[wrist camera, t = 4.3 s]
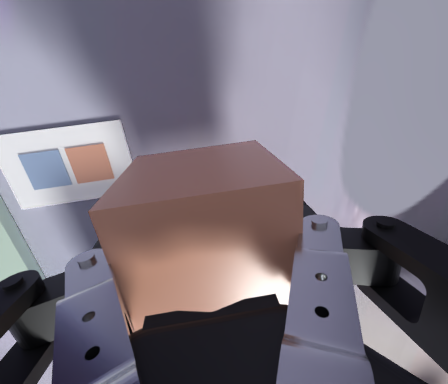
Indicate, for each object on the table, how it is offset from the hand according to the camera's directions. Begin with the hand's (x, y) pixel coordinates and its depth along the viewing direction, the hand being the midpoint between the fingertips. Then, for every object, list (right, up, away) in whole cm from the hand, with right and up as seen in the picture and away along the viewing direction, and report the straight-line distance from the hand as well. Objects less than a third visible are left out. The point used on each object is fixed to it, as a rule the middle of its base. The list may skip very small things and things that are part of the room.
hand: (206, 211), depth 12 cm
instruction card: (-9, +3, +4) cm, 10 cm away
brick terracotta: (0, 0, +1) cm, 1 cm away
